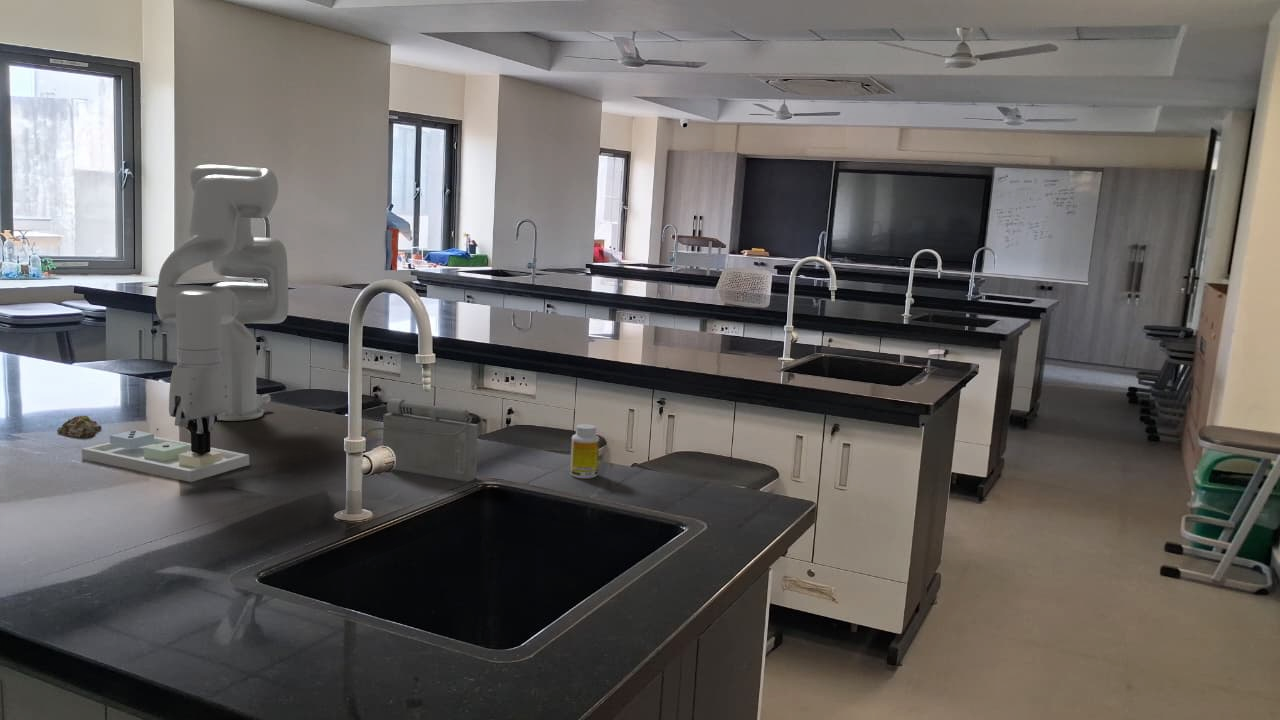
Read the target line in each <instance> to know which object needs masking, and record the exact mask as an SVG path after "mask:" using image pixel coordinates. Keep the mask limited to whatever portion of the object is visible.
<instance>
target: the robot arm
mask: <svg viewBox="0 0 1280 720" xmlns="http://www.w3.org/2000/svg"><path fill="white" fill-rule="evenodd" d="M189 174H190V176H189V177H190V186H191V188H192V190H193V199H192V201H193V202H192V210H191V220H190V228H189V237H188V238H187V240H185V241H184V242H183V243H181V244H180V245H178V247H175V248H174V250H173V251H172V252H171V253H170V254H169V255H168V257H167V258H166V259H165V260H164V262H163V264H162V266H161V268H160V269H159V274H158V281H157V289H156V296H155V310H156V314H157V316H158V318H159V319H160V320H161V321H162V322H163V323H166V324H170V325H176V361H177V362H176V364H175V365H173V367H172V371H171V375H170V383H169V395H168V412H169V413H168V414H169V416H170V417H172V418H174V426H177V427H181V428H186V429H187V432H188V433H190V443H191V451H192V452H194V453H199V454H205V453H209V452H210V447H211V432H213V431H214V427H215V424H216V423H217V421H221V420H222V421H221V422H223V421H224V422H225V421H226V422H238V421H239V422H240V421H248V420H255V419H258V418H260V417H261V418H262V416H263V415H264V409H263V408H261V407H260V406H261V405H262V404H267V403H270V402H271V400H272V397H271V395H270V394H268V393H267V394H262V395H260V394H257V343H256V339H255V337H254V335H253V334H252V332H251V331H250V330H249V329H248V328H247V327H246V326H245V325H246V324H248V325H249V324H270V325H272V324H281V323H283V322H284V321H285V320H286V319H287V317H288V313H289V276H288V275H289V272H288V270H289V269H288V257H287V256H288V255H287V251H286V247H285V245H284V243H283V242H282V241H281V240H279V239H277V238H273V237H261V236H259V237H258V236H253V234H252V223H251V222H252V220H251V219H265V218H267V217H269V215H270V214H271V212H272V210H273V208H274V206H275V204H276V202H277V198H278V195H279V194H278V193H279V182H278V179H277V176H276V174H275V172H273V171H272V170H271V169H269V168H266V167H265V168H262V167H251V166H237V165H236V166H235V165H227V164H223V165H221V164H200V165H198V166H195V167H194V168H192V169H191V171H190V173H189ZM209 262H211V263H212V268H213V270H214V272H215V273H216V274H217V275H218V276H220V277H223V278H234V279H249V280H250V279H253V280H254V279H255V280H263V281H265V282H251V281H222V282H217V283H215V284H212V286H210V285H208V286H206V285H205V286H204V285H193V284H191V285H190V284H189V285H187V284H182V285H181V284H177V283H178V282H179V281H178V280H179V279H180V278H181V277H182V276H183V275H184V274H185V273H187V272H188V271H190V270H192V269H193V268H196V267H198V266H200V265H204V264H207V263H209ZM244 324H245V325H244Z"/></svg>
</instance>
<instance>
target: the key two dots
mask: <svg viewBox="0 0 1280 720" xmlns="http://www.w3.org/2000/svg"><path fill="white" fill-rule="evenodd" d="M222 460H223V452H218V451H213V450H210V452H209V453H205V454H199V453H194V452H192V451H189V452H185V453H181V454H179V465H184V466H188V467H193V468H197V467H201V466H205V465H208V464H212V463H215V462H219V461H222Z"/></svg>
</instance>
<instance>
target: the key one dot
mask: <svg viewBox="0 0 1280 720" xmlns="http://www.w3.org/2000/svg"><path fill="white" fill-rule="evenodd" d="M185 452H188V446H187V445H182V444H177V443H172V442H164V443H160V444H155V445H151V446H147V447H144V458H149V459H154V460H159V461H164V462H165V461H169V460H173V459H177V458H179V454H181V453H185Z"/></svg>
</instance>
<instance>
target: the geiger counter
mask: <svg viewBox="0 0 1280 720" xmlns="http://www.w3.org/2000/svg"><path fill="white" fill-rule="evenodd" d="M386 410H387V411H386V412H387V413H385V414H383V415H382V416H383V417H382V418H383V419H382V422H383V423H382V427H380V426H378V427H376V426H375V427H372V428H369V429H368V430H366V431H365V433H364V434H363V435H362V437H363V436H364V437H365V438H366V437H367V435H368V434H369V433H370V432H371V431H376V430H382V446H383V445H384V446H388V447H390V448H391V449H392V450H393V451H394V453H395V455H396V466H395V469H393V470H394V471H401V472H407V473H413V474H420V475H426V476H431V477H436V478H441V479H442V478H443V479H449V480H450V479H451V480H454V481H461V482H471V481H474V480H475V479H477V465H478V464H477V463H478V461H477V460H478V458H477V457H478V432H479V430H478V429H479V428H478V427H479V425H478V424H477V423H471V422H472V420H473V417H472V416H471V415H470V414H469V411H468V410H467V409H463V408H462V409H461V408H455V407H446V406H439V405H431V404H426V403H425V404H424V403H417V402H411V401H406V400H405V399H400V398H389V399H388V400H387V404H386ZM468 419H469V420H468ZM373 448H374V447H372V448H371V447H369V446H368V445H367V444H366V447H365V449H367V450H368V451H370V450H371V449H373Z"/></svg>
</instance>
